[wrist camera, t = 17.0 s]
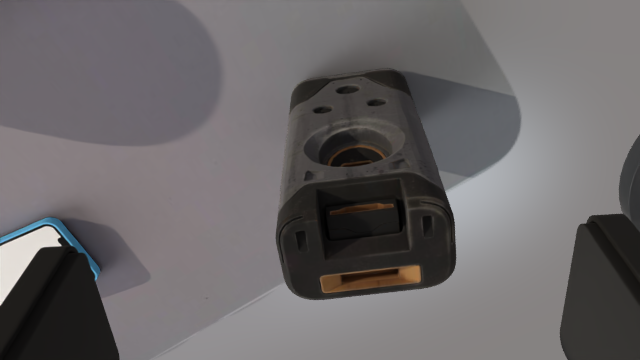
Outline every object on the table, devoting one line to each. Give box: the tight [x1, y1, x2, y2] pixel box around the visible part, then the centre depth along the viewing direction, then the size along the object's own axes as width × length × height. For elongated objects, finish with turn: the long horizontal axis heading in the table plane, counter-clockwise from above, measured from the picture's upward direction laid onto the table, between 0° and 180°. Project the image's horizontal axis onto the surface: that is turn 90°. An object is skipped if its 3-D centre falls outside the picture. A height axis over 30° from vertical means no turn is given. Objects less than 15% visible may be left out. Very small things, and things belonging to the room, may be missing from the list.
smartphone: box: [0, 217, 100, 306], centre depth 57 cm, size 8×1×15 cm
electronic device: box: [276, 69, 456, 300], centre depth 40 cm, size 9×6×20 cm, turn 98°
